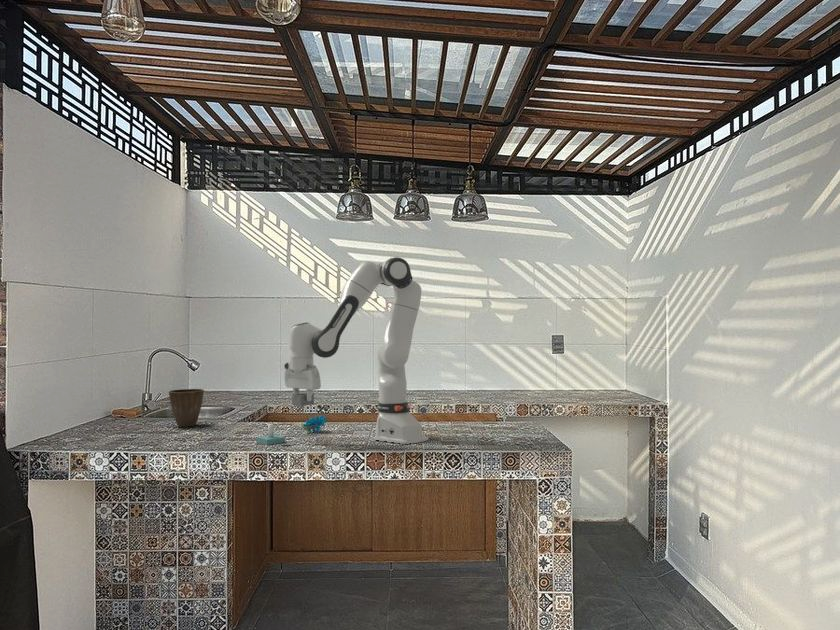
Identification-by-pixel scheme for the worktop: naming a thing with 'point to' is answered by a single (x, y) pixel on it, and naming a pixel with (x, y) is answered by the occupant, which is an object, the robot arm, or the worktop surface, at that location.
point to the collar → (302, 399)
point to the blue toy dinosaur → (314, 423)
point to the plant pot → (186, 405)
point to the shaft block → (270, 437)
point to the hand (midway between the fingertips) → (303, 400)
